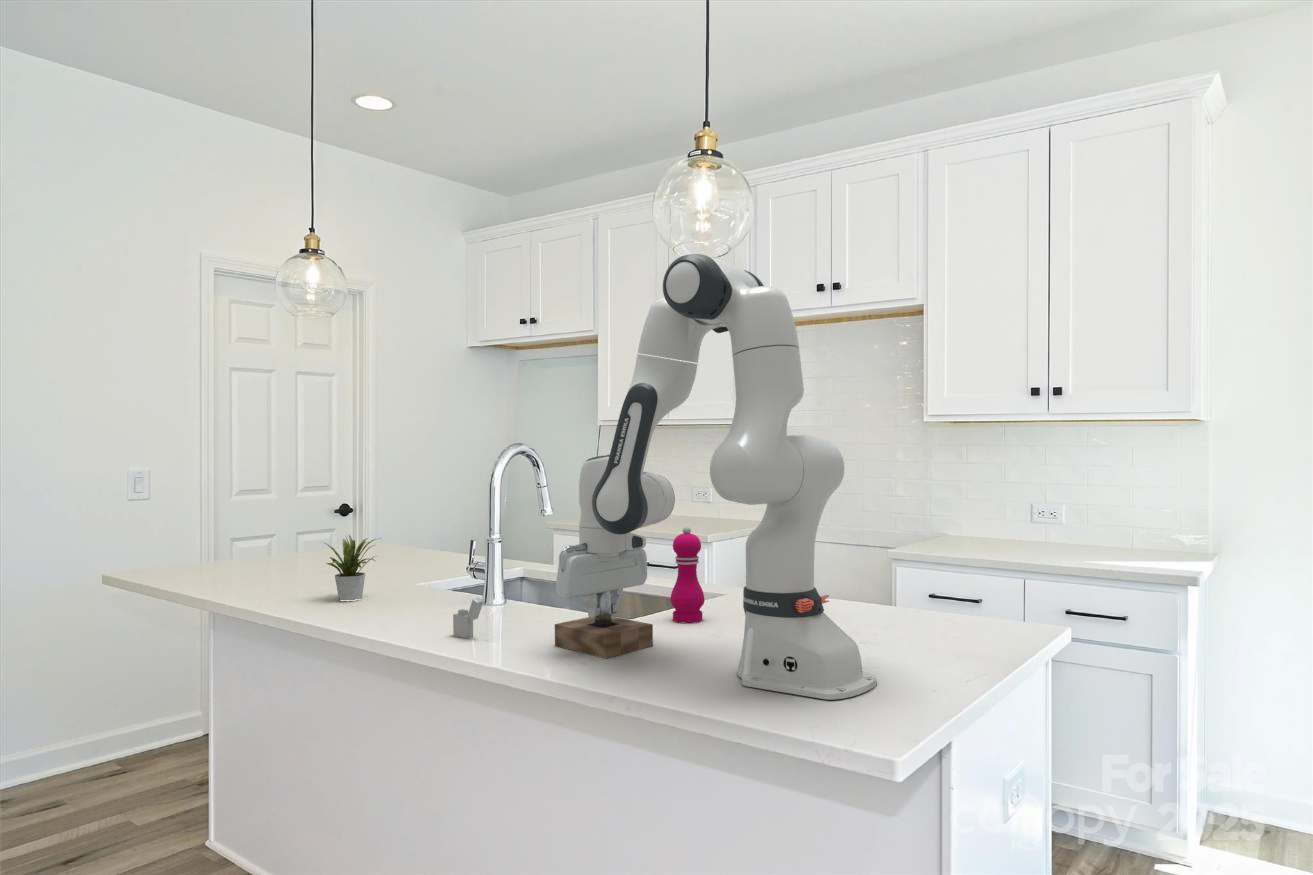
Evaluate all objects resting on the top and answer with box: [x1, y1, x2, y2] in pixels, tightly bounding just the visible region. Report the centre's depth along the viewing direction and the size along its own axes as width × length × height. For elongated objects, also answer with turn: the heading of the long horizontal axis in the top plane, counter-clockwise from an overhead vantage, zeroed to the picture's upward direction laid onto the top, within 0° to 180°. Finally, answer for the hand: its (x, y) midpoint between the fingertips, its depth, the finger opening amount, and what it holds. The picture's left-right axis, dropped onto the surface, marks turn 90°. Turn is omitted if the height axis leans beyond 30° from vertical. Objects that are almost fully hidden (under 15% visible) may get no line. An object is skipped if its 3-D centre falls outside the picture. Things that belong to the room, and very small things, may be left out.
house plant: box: [321, 534, 382, 600], centre depth 209 cm, size 14×14×16 cm
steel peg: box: [594, 591, 613, 628], centre depth 161 cm, size 3×3×10 cm
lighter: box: [452, 597, 484, 639], centre depth 169 cm, size 7×2×8 cm, turn 55°
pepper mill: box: [670, 525, 706, 624], centre depth 182 cm, size 7×7×20 cm
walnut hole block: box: [554, 615, 654, 659], centre depth 161 cm, size 14×12×4 cm
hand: (603, 615), depth 161 cm, fingers closed on steel peg, 3 cm apart
